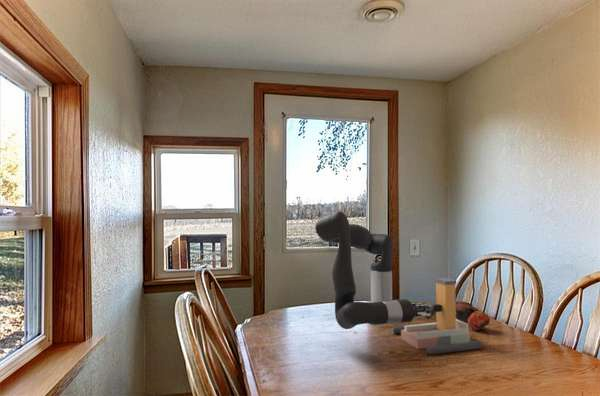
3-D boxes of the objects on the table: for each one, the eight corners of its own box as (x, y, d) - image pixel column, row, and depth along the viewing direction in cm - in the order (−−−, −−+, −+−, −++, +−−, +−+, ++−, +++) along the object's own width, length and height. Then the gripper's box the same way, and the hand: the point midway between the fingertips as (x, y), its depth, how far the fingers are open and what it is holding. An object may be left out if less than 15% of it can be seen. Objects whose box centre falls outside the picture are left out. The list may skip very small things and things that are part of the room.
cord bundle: (394, 335, 136) (394, 328, 136) (391, 332, 138) (391, 326, 138) (443, 329, 142) (443, 323, 142) (439, 327, 144) (439, 321, 144)
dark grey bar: (428, 356, 117) (428, 348, 117) (424, 353, 119) (424, 345, 119) (484, 349, 122) (484, 341, 122) (478, 346, 125) (478, 339, 125)
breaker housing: (417, 349, 123) (417, 330, 123) (401, 338, 132) (400, 321, 132) (469, 342, 128) (469, 324, 128) (450, 333, 138) (450, 316, 138)
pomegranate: (492, 336, 141) (473, 314, 148) (501, 324, 137) (481, 302, 144) (477, 341, 138) (459, 319, 145) (486, 329, 134) (467, 306, 141)
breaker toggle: (445, 332, 128) (445, 281, 129) (435, 327, 134) (435, 278, 134) (456, 331, 130) (456, 280, 130) (446, 326, 135) (446, 277, 135)
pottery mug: (445, 320, 155) (446, 300, 159) (459, 327, 159) (460, 308, 162) (471, 319, 145) (472, 298, 149) (486, 327, 149) (487, 306, 153)
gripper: (406, 305, 120) (453, 301, 125) (385, 295, 133) (428, 292, 138) (406, 329, 120) (453, 324, 125) (385, 317, 133) (429, 313, 137)
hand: (440, 307), depth 131 cm, fingers closed
